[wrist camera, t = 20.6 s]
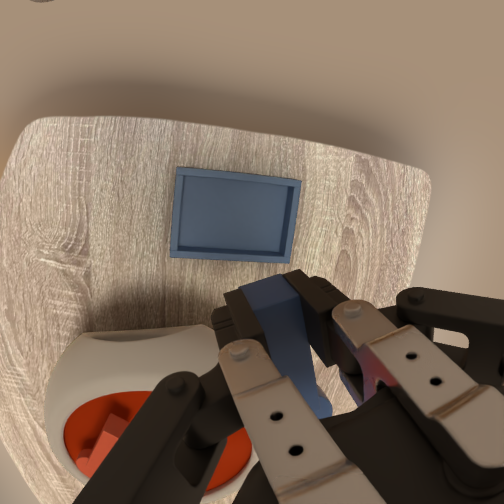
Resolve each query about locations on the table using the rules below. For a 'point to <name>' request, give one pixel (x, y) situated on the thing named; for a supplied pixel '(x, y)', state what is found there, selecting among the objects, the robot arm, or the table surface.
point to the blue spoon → (287, 337)
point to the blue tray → (233, 216)
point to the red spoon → (101, 445)
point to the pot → (131, 393)
